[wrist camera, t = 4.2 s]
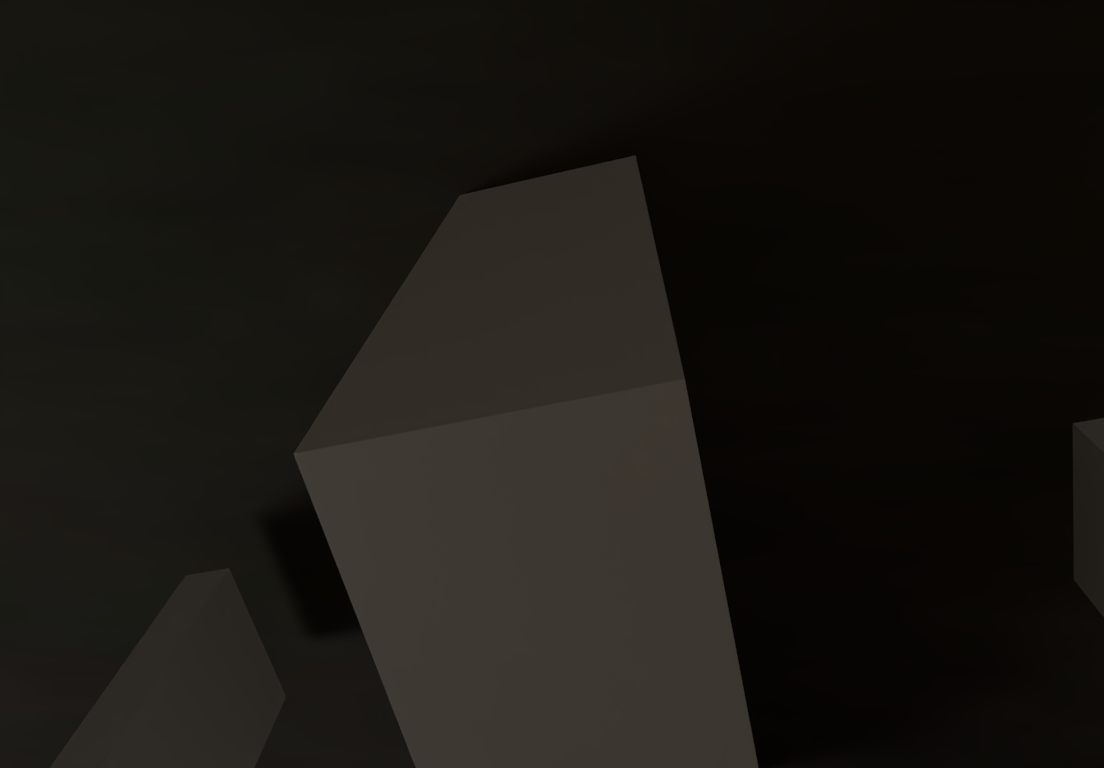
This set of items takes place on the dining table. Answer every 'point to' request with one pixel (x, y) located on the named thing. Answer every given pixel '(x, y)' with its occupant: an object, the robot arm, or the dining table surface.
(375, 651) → the panel
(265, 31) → the dining table surface
